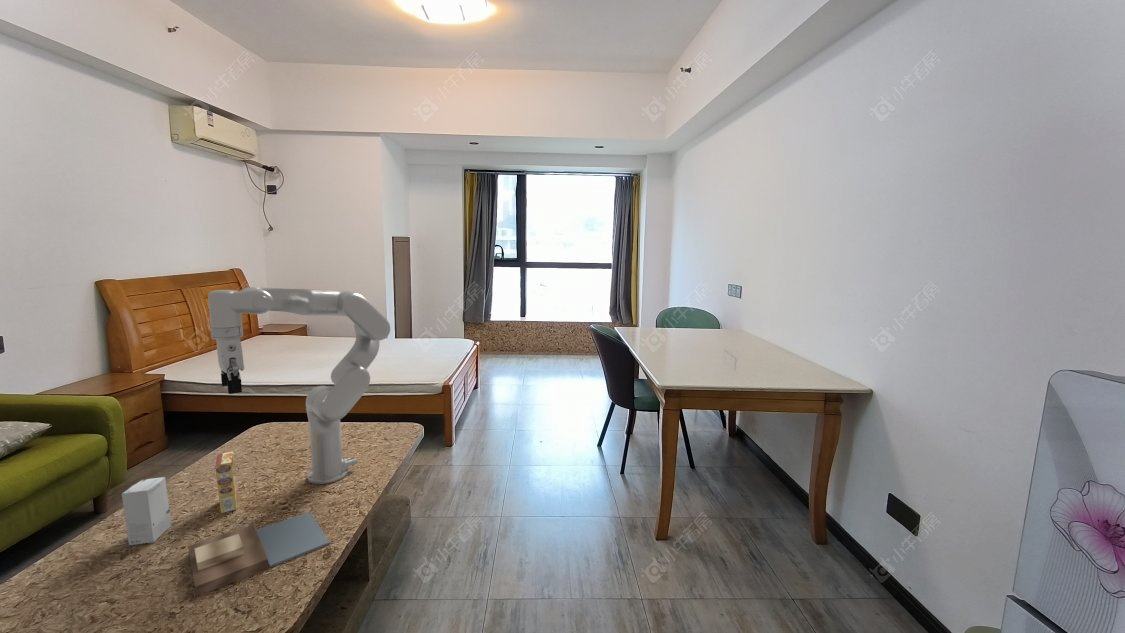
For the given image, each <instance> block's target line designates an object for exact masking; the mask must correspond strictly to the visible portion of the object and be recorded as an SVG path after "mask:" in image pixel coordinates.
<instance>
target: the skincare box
mask: <svg viewBox="0 0 1125 633" xmlns="http://www.w3.org/2000/svg"><path fill="white" fill-rule="evenodd" d="M166 481H167V480H166V477H165V476H164V477H163V476H162V477H156V478H145V479H141V480H140V481H138V482H137V483H135V484H133V485H131V486H130V487H129V488H128V489H127V490H125V491H124V492H122V493H121V497H122V506H123V514H124V519H125V525H126V533H127V541H128V546H134V545H144V544H143V543H148V544H154V543H155V542H156V541H157V540H158V539H159V538H160V537H161V536H162V535H163V534H164V533H165V532H166V531H168V530H169V529H170V528H171V527H172V517H171V512H170V504H169V497H168V489H167V482H166Z"/></svg>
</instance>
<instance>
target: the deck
mask: <svg viewBox="0 0 1125 633" xmlns="http://www.w3.org/2000/svg"><path fill="white" fill-rule="evenodd" d="M256 530H257V529H256V527H255V525H254V524H251V525H248V526H245V527H241V528H239V529H236V530H232V531H228V532H227V533H223V534H220V535H217V536H214V537H212V538H208V539H205V540H202V541H199V542H195V543H193V544H190V545H188V546H187V548H188V555H189V556H188V557H189V562H190V569H191V574H192V579H193V585H194V591H195V595H196V597H199V596H201V595H205V594H206V593H210V592H211V591H214V590H217V589H220V588H222V587H225V586H227V585H229V584H232V583H236V582H237V581H240V580H242V579H245V578H247V577H250V576H253V575H255V574H257V573H261V572H262V571H265V570H268V569H269V568H270V566H269V564H268V558H267V556H266V553H265V551H264V549H263V546H262V544H261V542H260V539H259V537H258V534H257V532H256ZM236 534H239V536H240V539H241V542H242V544H243V549H244V554H243V555H240V556H237V557H235V558H232V559H229V560H226V561H224V562H221V563H218V564H215V565H213V566H210V567H207V568H204V569H202V570H199V571H198V567H197V562H196V557H195V548H198V547H201V546H204V545H207V544H210V543H213V542H216V541H218V540H221V539H224V538H227V537H230V536H233V535H236Z"/></svg>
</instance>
